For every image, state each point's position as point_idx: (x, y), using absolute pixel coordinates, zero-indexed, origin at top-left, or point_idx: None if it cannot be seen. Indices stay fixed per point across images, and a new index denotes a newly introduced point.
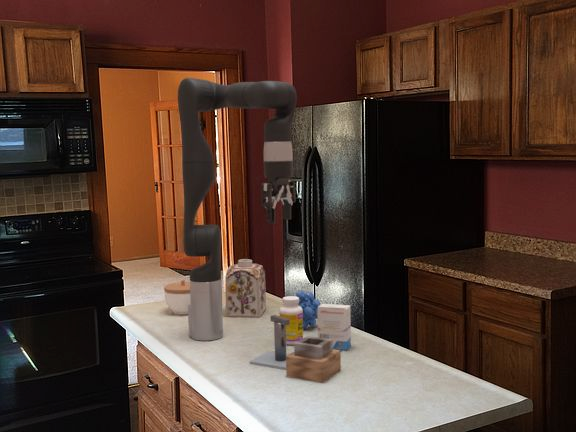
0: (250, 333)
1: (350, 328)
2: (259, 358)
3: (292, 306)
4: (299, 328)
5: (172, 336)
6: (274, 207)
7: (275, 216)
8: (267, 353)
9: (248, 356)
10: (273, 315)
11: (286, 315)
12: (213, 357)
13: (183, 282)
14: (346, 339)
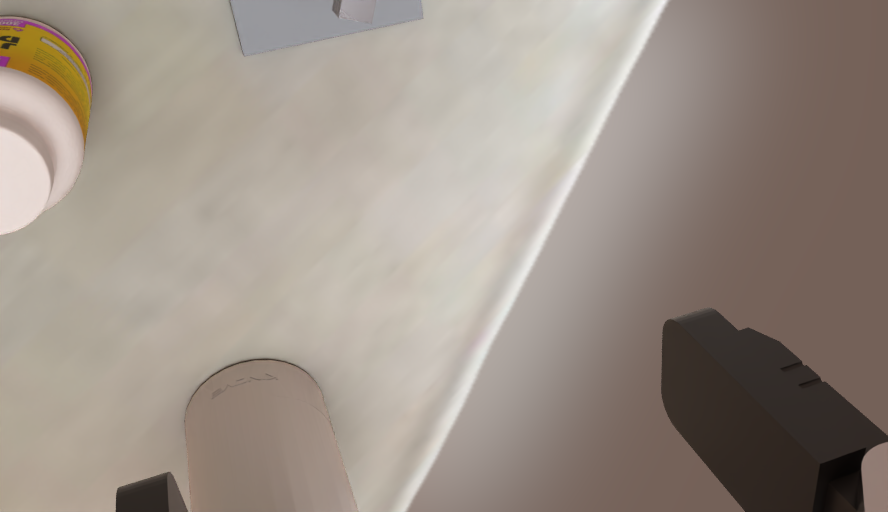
0: (78, 332)
1: None
2: None
3: (21, 120)
4: (6, 38)
5: None
6: (885, 465)
7: (728, 369)
8: (286, 29)
9: (347, 92)
10: (355, 13)
11: (77, 116)
12: (442, 196)
13: None
14: None
